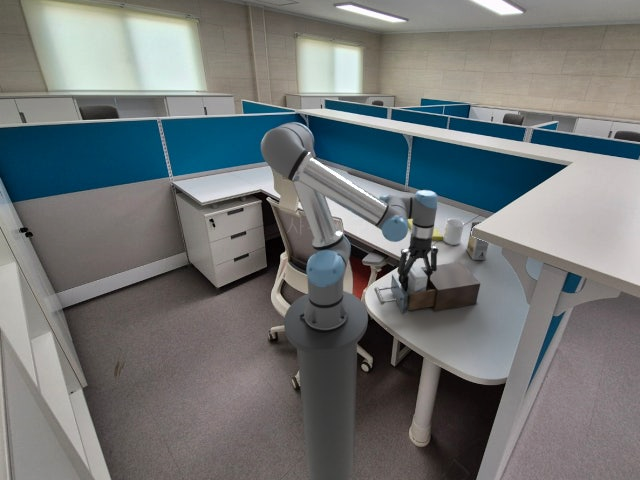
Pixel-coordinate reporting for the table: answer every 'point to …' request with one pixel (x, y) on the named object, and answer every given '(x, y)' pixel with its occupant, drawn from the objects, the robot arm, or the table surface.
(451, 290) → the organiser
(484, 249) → the coffee box
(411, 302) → the drawer
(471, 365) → the table surface
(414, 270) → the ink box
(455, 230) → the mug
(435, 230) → the yellow flat slab
